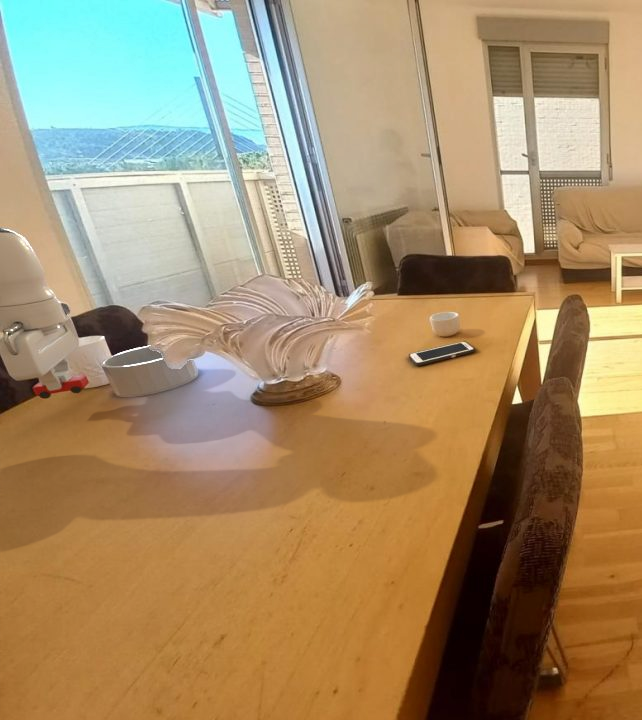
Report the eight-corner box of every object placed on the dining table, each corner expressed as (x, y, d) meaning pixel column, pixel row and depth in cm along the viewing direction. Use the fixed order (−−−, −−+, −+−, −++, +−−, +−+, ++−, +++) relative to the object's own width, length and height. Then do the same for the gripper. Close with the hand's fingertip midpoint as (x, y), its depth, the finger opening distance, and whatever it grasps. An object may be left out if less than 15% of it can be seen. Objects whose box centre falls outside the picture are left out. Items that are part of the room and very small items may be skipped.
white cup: (127, 379, 110) (108, 339, 106) (79, 393, 104) (57, 350, 100) (117, 372, 114) (98, 333, 110) (70, 385, 108) (48, 344, 104)
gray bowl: (105, 403, 99) (90, 372, 96) (125, 379, 110) (111, 351, 107) (193, 386, 106) (181, 357, 103) (202, 365, 117) (192, 338, 114)
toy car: (37, 400, 90) (27, 381, 88) (45, 393, 93) (36, 374, 91) (85, 391, 93) (76, 373, 92) (91, 385, 96) (82, 367, 94)
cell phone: (408, 357, 117) (407, 354, 117) (465, 343, 125) (465, 340, 125) (416, 367, 112) (415, 363, 111) (476, 352, 120) (476, 348, 119)
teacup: (465, 334, 133) (462, 316, 130) (437, 341, 129) (433, 322, 126) (454, 326, 140) (451, 308, 138) (427, 331, 136) (424, 313, 134)
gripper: (28, 327, 80) (64, 400, 86) (71, 302, 96) (99, 364, 102) (-29, 334, 77) (12, 409, 82) (26, 306, 93) (57, 371, 98)
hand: (61, 384), depth 92 cm, fingers closed on toy car, 3 cm apart
